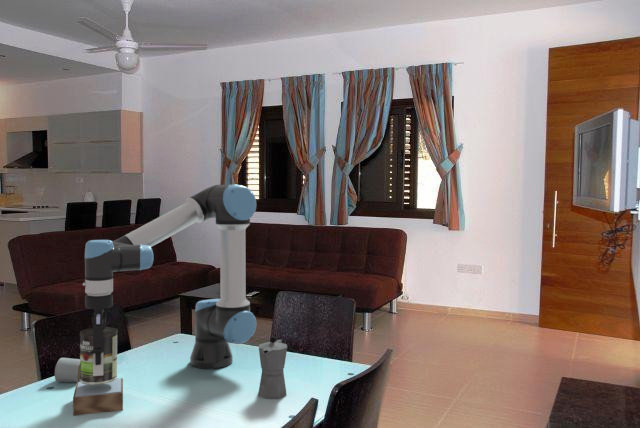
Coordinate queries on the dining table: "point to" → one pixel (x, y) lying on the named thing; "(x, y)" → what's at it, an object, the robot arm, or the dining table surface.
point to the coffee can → (108, 357)
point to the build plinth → (98, 397)
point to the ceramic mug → (67, 370)
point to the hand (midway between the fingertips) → (99, 369)
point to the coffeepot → (272, 369)
